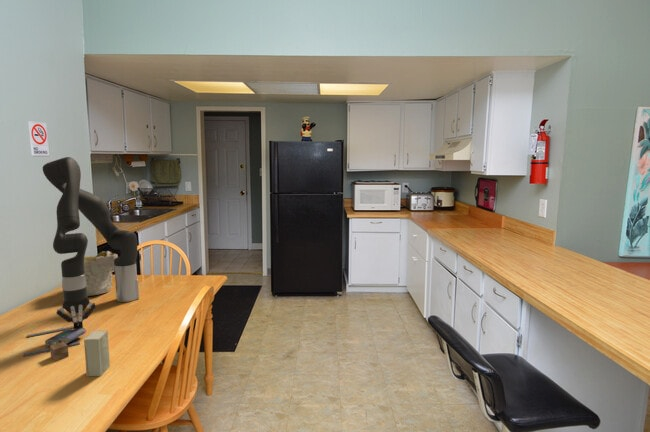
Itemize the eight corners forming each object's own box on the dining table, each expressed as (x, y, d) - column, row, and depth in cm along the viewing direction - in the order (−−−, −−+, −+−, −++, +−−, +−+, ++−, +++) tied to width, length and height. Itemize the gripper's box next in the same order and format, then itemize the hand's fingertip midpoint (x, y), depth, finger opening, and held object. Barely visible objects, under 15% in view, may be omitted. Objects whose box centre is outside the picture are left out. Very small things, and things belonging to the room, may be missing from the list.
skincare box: (96, 366, 123) (93, 330, 121) (110, 366, 123) (108, 330, 122) (85, 377, 117) (82, 339, 115) (101, 376, 117) (98, 338, 116)
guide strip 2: (79, 342, 139) (79, 341, 139) (79, 344, 138) (79, 342, 138) (23, 354, 130) (23, 353, 130) (23, 356, 129) (23, 355, 129)
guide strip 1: (77, 326, 153) (77, 325, 153) (77, 327, 152) (77, 326, 152) (27, 336, 144) (26, 335, 144) (26, 337, 143) (26, 336, 143)
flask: (85, 327, 143) (63, 339, 133) (87, 334, 144) (65, 347, 133) (62, 329, 144) (39, 342, 134) (64, 337, 145) (41, 350, 134)
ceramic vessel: (42, 278, 188) (75, 235, 197) (88, 298, 204) (116, 257, 213) (57, 287, 173) (92, 240, 183) (105, 308, 189) (135, 263, 199)
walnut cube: (64, 352, 132) (63, 341, 131) (68, 356, 129) (67, 345, 129) (50, 357, 129) (49, 346, 128) (54, 361, 126) (53, 349, 126)
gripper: (94, 280, 150) (97, 323, 152) (52, 287, 142) (57, 331, 145) (96, 286, 144) (99, 329, 146) (52, 292, 136) (57, 338, 139)
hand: (78, 330), depth 146 cm, fingers closed
